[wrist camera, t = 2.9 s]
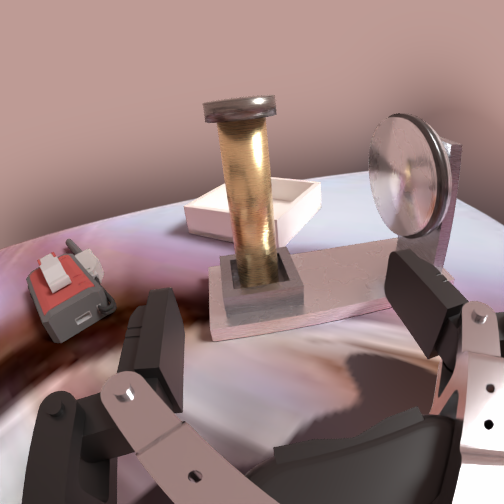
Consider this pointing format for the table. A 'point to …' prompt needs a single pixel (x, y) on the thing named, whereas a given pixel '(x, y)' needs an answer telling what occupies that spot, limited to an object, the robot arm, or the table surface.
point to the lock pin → (248, 183)
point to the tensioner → (353, 256)
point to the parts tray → (284, 204)
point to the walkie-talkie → (69, 292)
